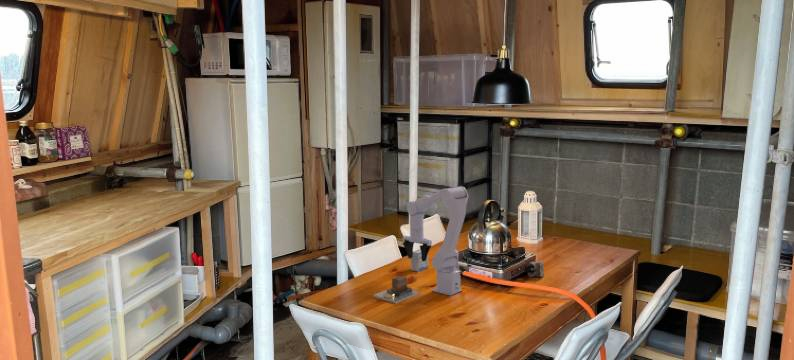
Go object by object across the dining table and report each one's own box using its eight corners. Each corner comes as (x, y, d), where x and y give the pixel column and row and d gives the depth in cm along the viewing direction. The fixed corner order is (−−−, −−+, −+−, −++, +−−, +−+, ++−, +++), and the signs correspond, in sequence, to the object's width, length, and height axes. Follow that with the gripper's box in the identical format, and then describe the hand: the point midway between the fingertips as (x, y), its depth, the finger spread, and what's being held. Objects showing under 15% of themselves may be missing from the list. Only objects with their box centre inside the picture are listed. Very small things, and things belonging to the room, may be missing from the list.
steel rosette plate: (418, 294, 248) (418, 288, 247) (396, 303, 237) (396, 298, 237) (396, 288, 255) (396, 283, 255) (373, 297, 245) (373, 291, 245)
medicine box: (418, 272, 278) (418, 253, 277) (410, 270, 281) (410, 252, 280) (428, 267, 284) (428, 249, 283) (420, 266, 287) (420, 248, 286)
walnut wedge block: (407, 291, 248) (406, 277, 247) (399, 294, 245) (398, 279, 244) (400, 289, 251) (400, 275, 250) (392, 292, 247) (392, 278, 246)
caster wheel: (525, 276, 278) (547, 275, 273) (519, 277, 268) (542, 276, 263) (524, 261, 278) (546, 260, 274) (518, 262, 268) (540, 261, 264)
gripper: (397, 228, 264) (398, 258, 266) (424, 232, 255) (424, 264, 257) (408, 225, 269) (408, 255, 271) (434, 229, 260) (434, 260, 262)
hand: (417, 259), depth 264 cm, fingers open, 7 cm apart
